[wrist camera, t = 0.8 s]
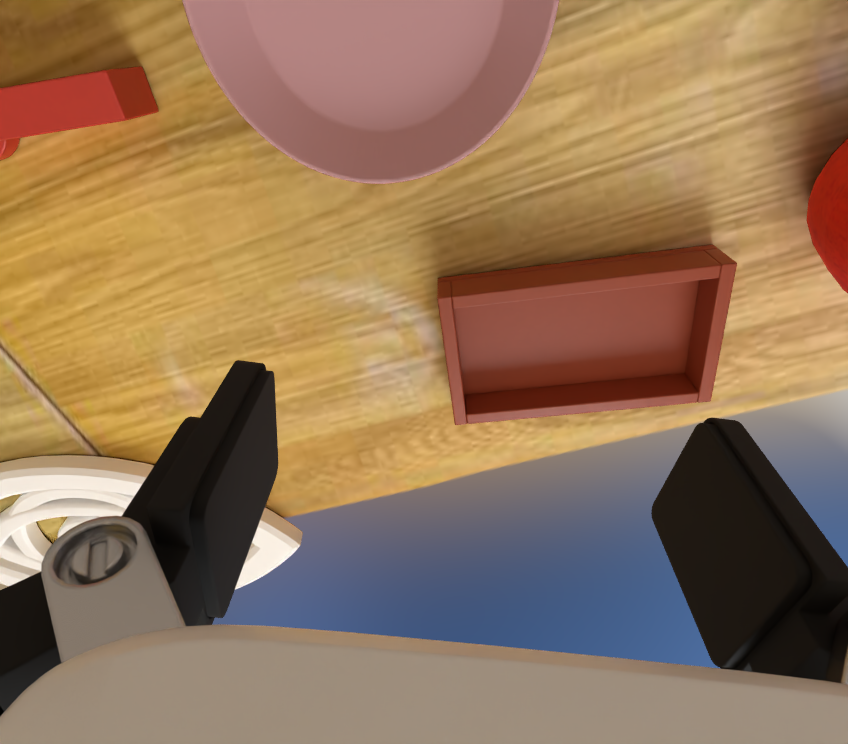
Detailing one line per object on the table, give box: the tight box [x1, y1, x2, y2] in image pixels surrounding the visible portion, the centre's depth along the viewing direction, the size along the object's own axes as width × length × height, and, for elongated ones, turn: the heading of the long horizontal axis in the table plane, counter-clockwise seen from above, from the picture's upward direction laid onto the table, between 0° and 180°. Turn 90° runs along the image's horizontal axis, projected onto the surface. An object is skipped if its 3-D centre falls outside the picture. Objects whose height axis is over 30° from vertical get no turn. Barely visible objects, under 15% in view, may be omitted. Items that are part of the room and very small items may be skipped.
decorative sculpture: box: [0, 455, 303, 589], centre depth 39 cm, size 15×29×2 cm, turn 100°
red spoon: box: [0, 67, 158, 160], centre depth 22 cm, size 10×4×3 cm, turn 98°
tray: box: [437, 245, 737, 425], centre depth 28 cm, size 14×8×3 cm, turn 98°
